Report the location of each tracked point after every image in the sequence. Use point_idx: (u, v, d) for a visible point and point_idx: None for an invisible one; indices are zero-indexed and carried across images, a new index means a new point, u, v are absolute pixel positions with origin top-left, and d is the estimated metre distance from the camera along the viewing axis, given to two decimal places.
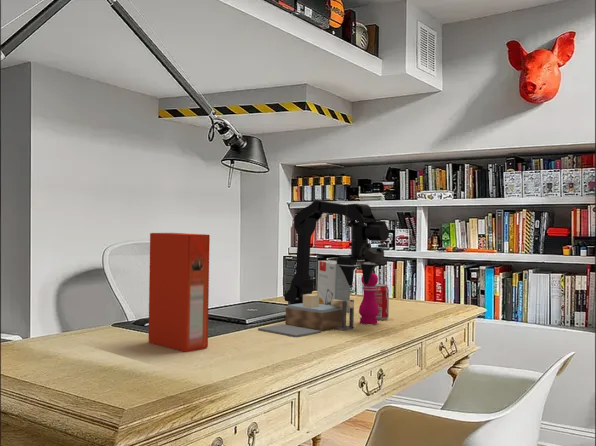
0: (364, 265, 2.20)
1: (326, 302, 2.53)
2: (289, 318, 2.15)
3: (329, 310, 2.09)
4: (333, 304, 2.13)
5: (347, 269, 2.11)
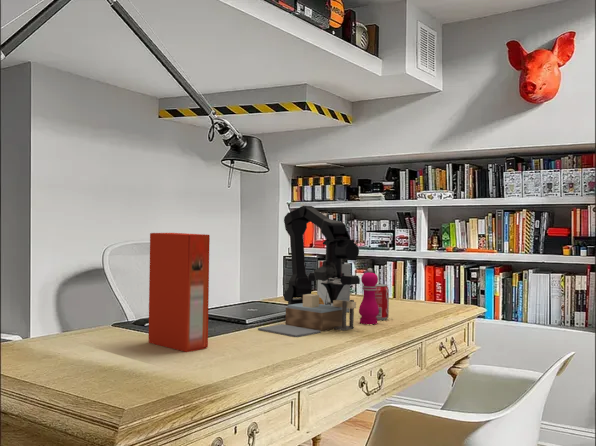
0: None
1: (326, 302, 2.53)
2: (289, 318, 2.15)
3: (329, 310, 2.09)
4: (335, 304, 2.12)
5: None
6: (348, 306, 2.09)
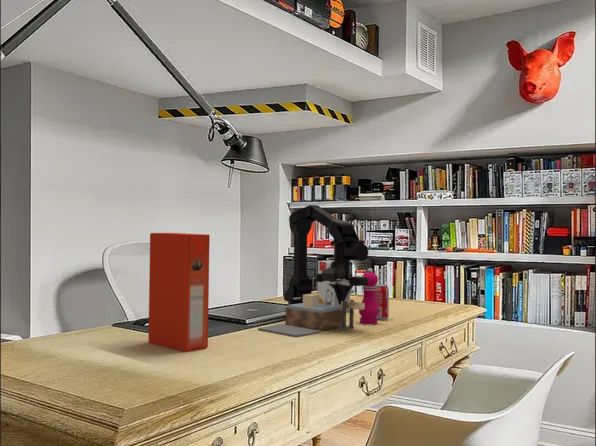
0: None
1: (326, 302, 2.53)
2: (289, 318, 2.15)
3: (329, 310, 2.09)
4: None
5: None
6: (356, 307, 2.07)
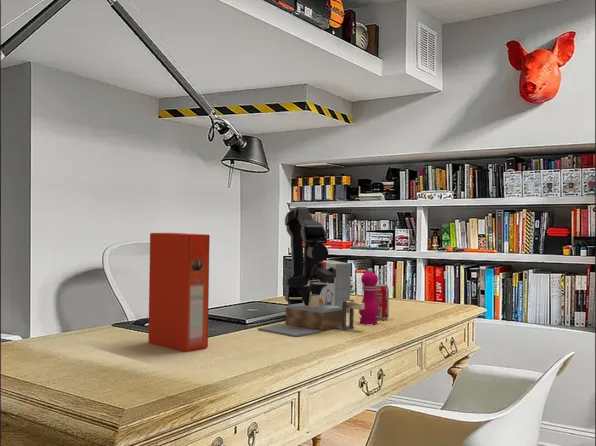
0: (313, 285, 2.16)
1: (326, 302, 2.53)
2: (289, 318, 2.15)
3: (329, 310, 2.09)
4: None
5: (303, 289, 2.11)
6: (356, 307, 2.07)
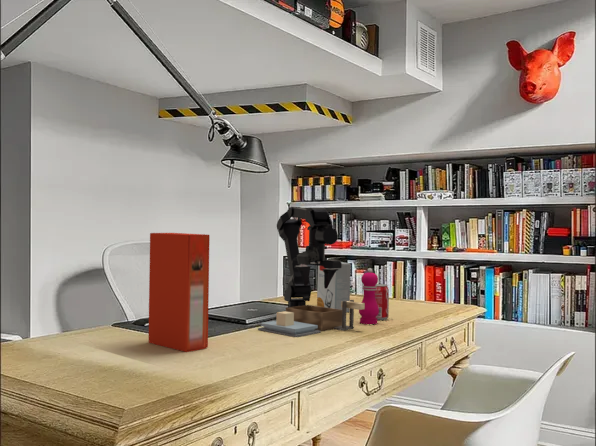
0: None
1: (326, 302, 2.53)
2: None
3: (304, 329, 1.98)
4: None
5: None
6: (356, 307, 2.07)
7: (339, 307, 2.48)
